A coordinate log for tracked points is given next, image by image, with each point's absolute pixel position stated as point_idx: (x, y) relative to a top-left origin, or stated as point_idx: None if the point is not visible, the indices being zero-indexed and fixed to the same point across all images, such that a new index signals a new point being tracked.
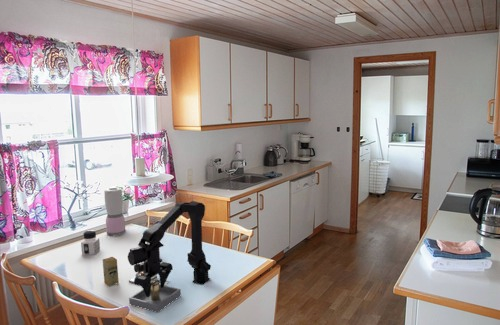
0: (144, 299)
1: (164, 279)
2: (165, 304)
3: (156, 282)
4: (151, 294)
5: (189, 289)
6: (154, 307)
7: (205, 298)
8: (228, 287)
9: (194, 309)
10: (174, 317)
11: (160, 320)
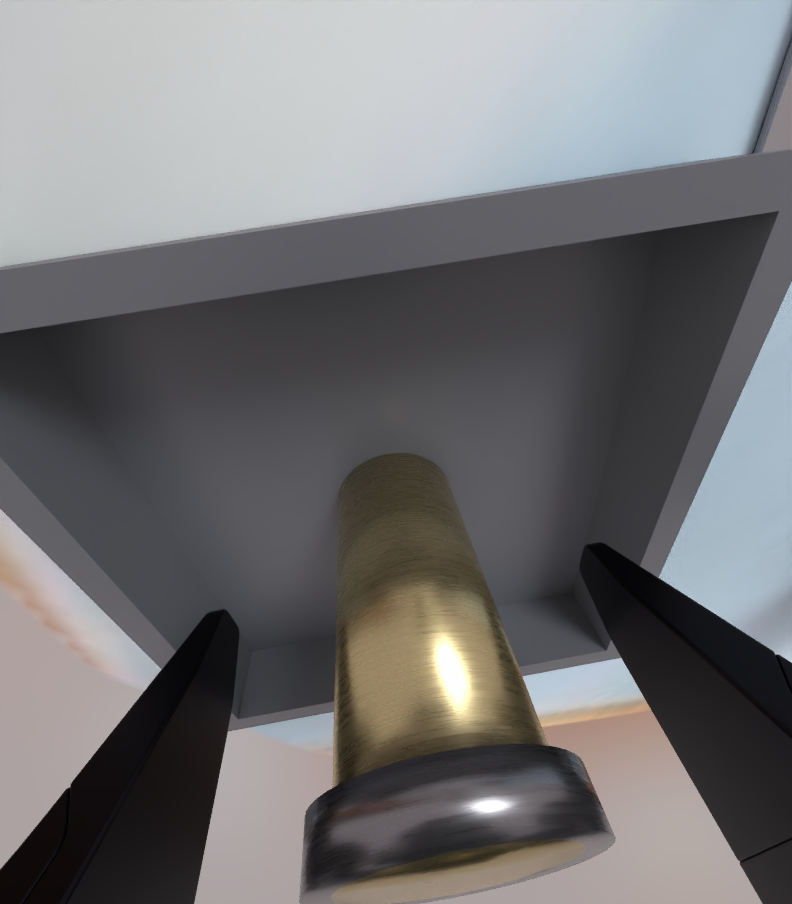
0: (275, 400)
1: (700, 775)
2: None
3: (441, 894)
4: (337, 561)
5: (716, 563)
6: None
7: (591, 689)
8: None
9: None
10: (297, 724)
11: None
